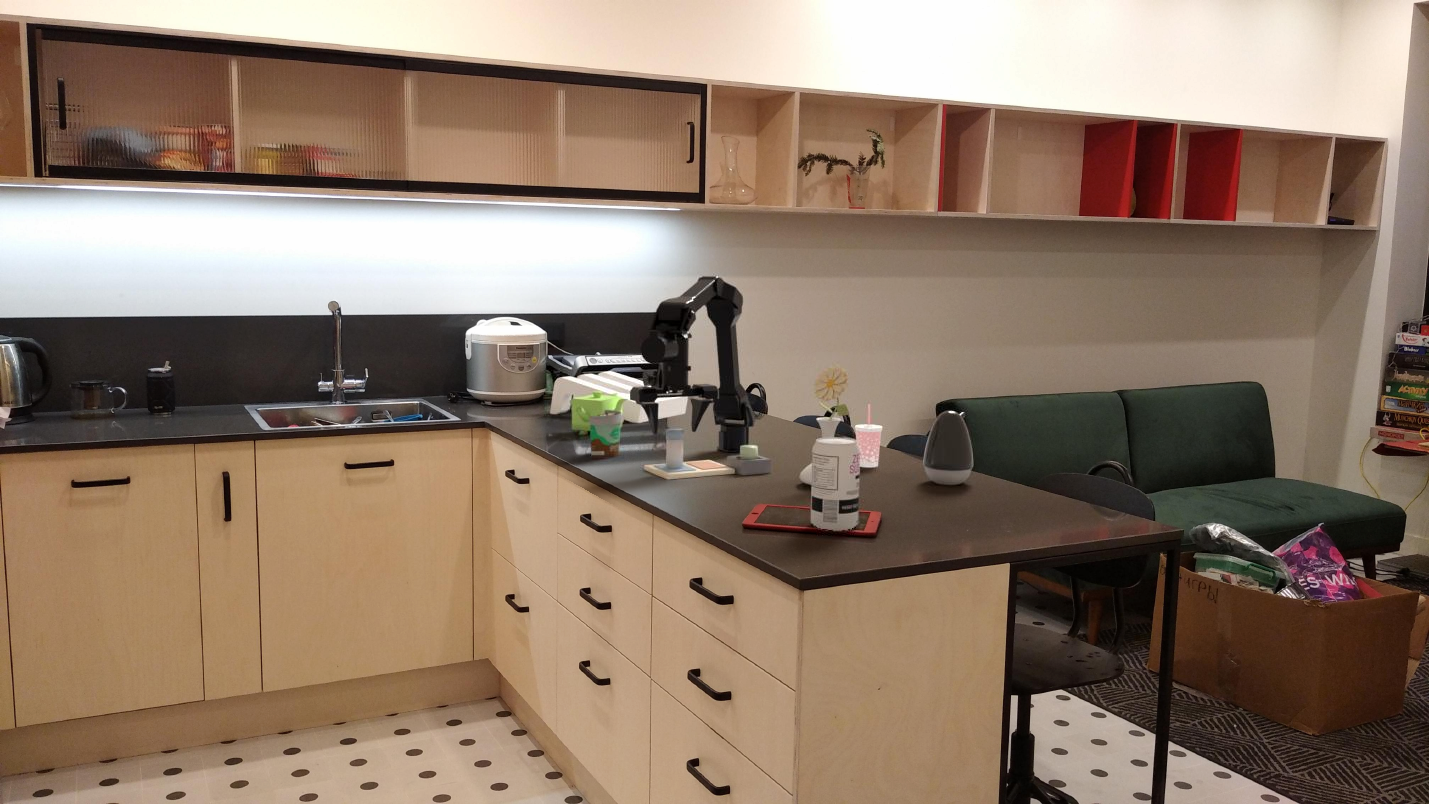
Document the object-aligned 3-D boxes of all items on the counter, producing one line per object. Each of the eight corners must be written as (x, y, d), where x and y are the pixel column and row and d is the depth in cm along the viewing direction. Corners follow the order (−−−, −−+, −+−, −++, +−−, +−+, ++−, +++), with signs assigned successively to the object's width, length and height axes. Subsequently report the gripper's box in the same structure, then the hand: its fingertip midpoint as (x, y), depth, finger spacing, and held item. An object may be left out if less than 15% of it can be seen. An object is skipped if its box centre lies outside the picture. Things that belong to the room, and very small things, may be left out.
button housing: (754, 467, 241) (754, 454, 241) (770, 472, 235) (770, 459, 235) (727, 469, 238) (727, 456, 238) (742, 475, 232) (742, 461, 231)
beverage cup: (880, 468, 241) (882, 406, 240) (853, 467, 243) (854, 405, 241) (882, 463, 247) (883, 403, 246) (855, 462, 248) (856, 402, 247)
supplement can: (806, 520, 191) (808, 436, 189) (852, 520, 192) (855, 436, 190) (814, 532, 183) (816, 444, 181) (862, 531, 184) (865, 444, 182)
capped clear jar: (678, 465, 236) (679, 427, 235) (686, 468, 233) (686, 430, 232) (662, 466, 234) (663, 429, 233) (670, 469, 231) (670, 431, 230)
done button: (752, 460, 239) (752, 444, 238) (760, 463, 235) (761, 447, 235) (737, 461, 237) (737, 445, 237) (745, 464, 234) (745, 448, 233)
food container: (615, 460, 248) (615, 417, 247) (589, 459, 249) (589, 416, 248) (629, 451, 260) (629, 410, 259) (605, 450, 261) (605, 409, 260)
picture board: (709, 464, 244) (709, 459, 244) (734, 473, 234) (734, 468, 234) (644, 469, 237) (644, 464, 237) (667, 479, 226) (667, 473, 226)
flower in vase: (789, 482, 225) (792, 362, 222) (838, 478, 229) (841, 361, 226) (818, 494, 213) (821, 368, 210) (869, 490, 217) (872, 366, 214)
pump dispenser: (982, 482, 227) (985, 410, 225) (955, 489, 219) (958, 415, 217) (940, 476, 234) (943, 406, 232) (912, 482, 226) (915, 410, 224)
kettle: (617, 428, 297) (617, 387, 295) (632, 436, 284) (632, 393, 282) (563, 430, 291) (563, 389, 290) (576, 438, 278) (576, 395, 277)
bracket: (641, 404, 306) (555, 375, 322) (634, 444, 309) (549, 413, 324) (688, 395, 326) (605, 369, 342) (681, 433, 329) (599, 405, 345)
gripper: (697, 356, 242) (696, 425, 244) (619, 358, 233) (619, 430, 235) (720, 360, 232) (719, 432, 234) (640, 363, 224) (640, 437, 226)
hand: (674, 433), depth 233 cm, fingers open, 9 cm apart
